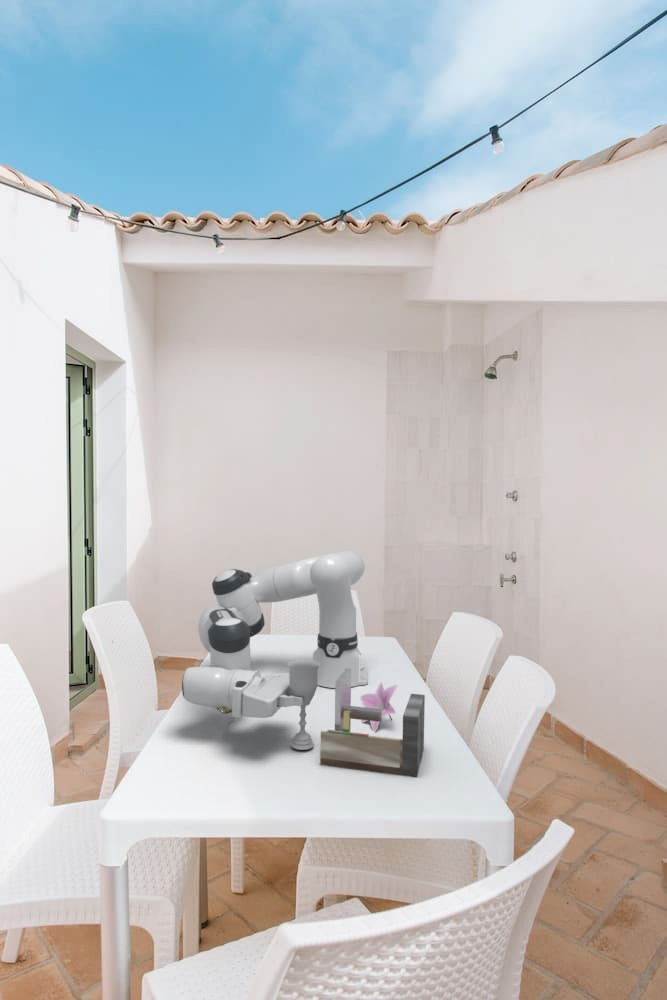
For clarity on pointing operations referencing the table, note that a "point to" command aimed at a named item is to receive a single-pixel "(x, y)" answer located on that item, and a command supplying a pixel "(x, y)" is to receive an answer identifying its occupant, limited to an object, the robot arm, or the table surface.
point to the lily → (379, 702)
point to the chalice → (305, 685)
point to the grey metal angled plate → (345, 703)
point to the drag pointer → (347, 721)
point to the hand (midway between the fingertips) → (306, 696)
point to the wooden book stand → (379, 746)
